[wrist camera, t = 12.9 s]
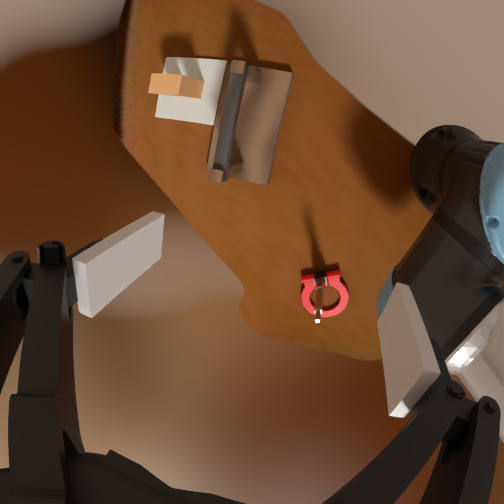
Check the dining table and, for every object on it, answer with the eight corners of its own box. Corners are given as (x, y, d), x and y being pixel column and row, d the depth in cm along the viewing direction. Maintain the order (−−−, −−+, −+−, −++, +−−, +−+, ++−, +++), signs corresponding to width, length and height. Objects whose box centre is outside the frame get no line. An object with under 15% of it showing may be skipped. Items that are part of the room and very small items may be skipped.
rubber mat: (228, 61, 40) (226, 60, 40) (214, 125, 45) (213, 125, 45) (168, 57, 42) (166, 57, 41) (156, 116, 47) (155, 116, 46)
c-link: (204, 81, 42) (182, 74, 35) (200, 99, 43) (178, 95, 36) (177, 79, 43) (151, 73, 36) (174, 96, 44) (148, 92, 37)
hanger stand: (293, 74, 39) (281, 57, 29) (268, 184, 47) (250, 200, 37) (230, 64, 41) (201, 48, 30) (209, 169, 48) (177, 182, 38)
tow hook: (350, 310, 53) (344, 266, 49) (353, 360, 41) (347, 312, 38) (306, 316, 55) (296, 273, 52) (298, 365, 44) (286, 319, 41)
